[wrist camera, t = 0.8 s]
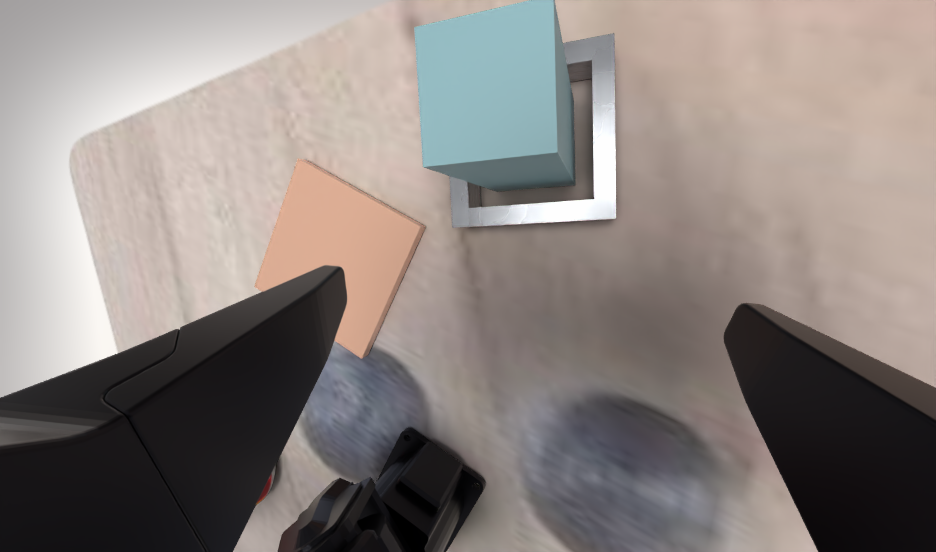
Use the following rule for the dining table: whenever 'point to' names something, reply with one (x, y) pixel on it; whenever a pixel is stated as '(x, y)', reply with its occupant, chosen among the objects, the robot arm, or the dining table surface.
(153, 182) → the dining table surface
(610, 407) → the dining table surface
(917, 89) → the dining table surface
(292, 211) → the terracotta tile
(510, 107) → the teal peg
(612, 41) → the square socket
